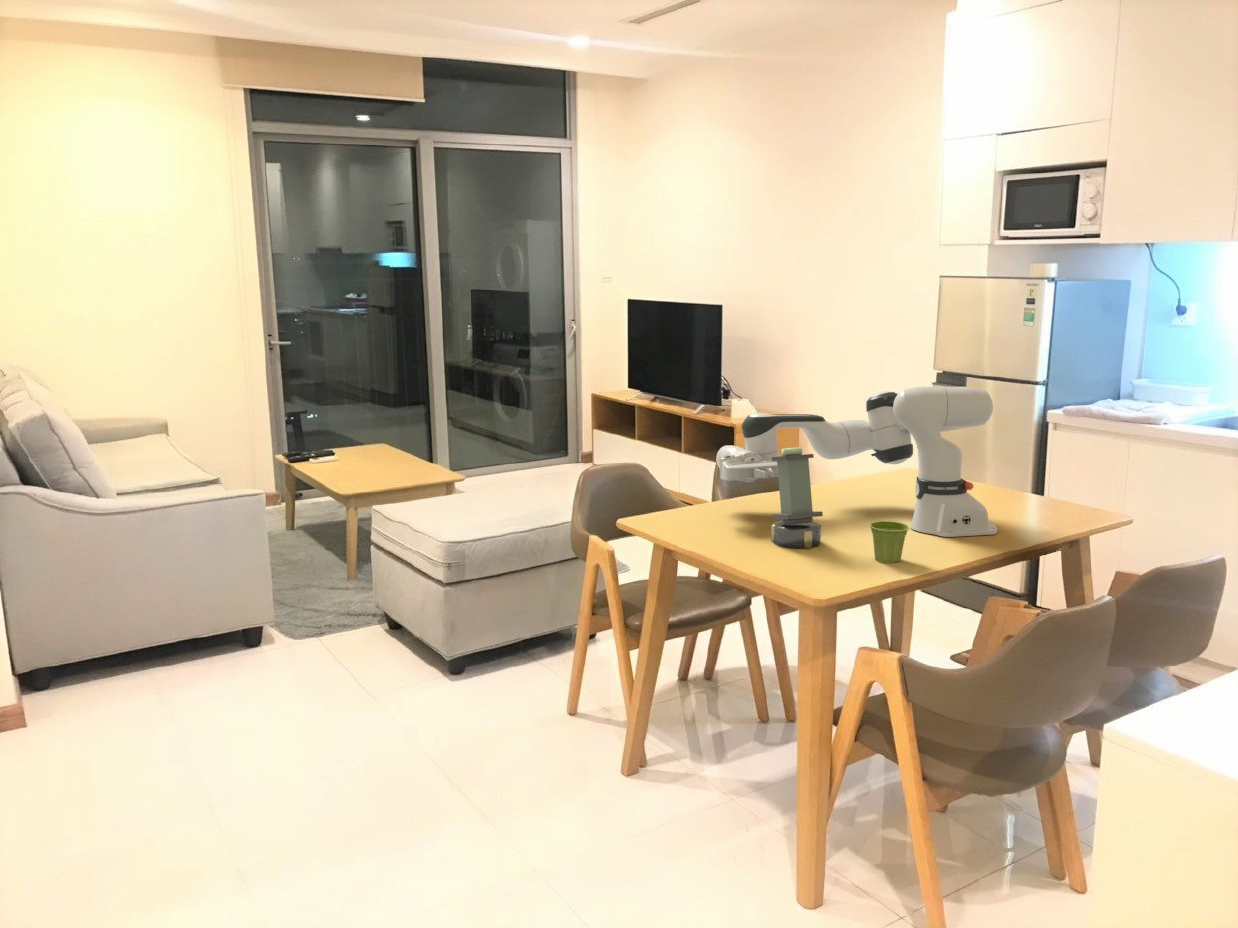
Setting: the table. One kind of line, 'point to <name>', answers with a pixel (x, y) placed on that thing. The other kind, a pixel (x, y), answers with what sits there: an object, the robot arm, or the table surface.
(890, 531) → the plant pot
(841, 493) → the table surface
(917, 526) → the robot arm
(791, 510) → the green square column
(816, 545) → the base
